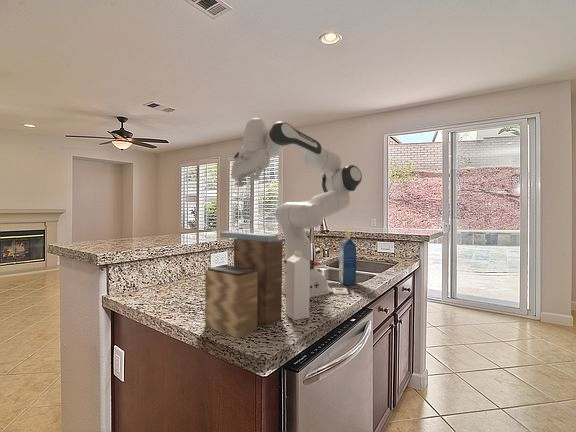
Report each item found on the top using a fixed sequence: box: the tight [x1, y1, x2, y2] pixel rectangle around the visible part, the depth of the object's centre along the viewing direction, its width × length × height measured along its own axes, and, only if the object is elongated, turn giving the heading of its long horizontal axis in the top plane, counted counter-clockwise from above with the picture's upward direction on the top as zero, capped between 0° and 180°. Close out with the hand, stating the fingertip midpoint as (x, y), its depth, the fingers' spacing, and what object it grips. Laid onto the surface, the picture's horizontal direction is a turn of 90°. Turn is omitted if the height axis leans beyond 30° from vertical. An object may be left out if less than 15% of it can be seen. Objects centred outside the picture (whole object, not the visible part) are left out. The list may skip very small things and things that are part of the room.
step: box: [204, 264, 258, 339], centre depth 95 cm, size 14×8×18 cm, turn 55°
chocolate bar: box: [327, 282, 353, 295], centre depth 142 cm, size 9×1×18 cm
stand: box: [233, 239, 283, 328], centre depth 103 cm, size 14×8×26 cm, turn 55°
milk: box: [285, 250, 310, 321], centre depth 106 cm, size 6×6×22 cm
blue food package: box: [338, 231, 357, 285], centre depth 153 cm, size 6×12×25 cm, turn 0°
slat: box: [219, 231, 279, 242], centre depth 105 cm, size 22×4×2 cm, turn 55°
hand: (248, 183), depth 124 cm, fingers open, 8 cm apart
